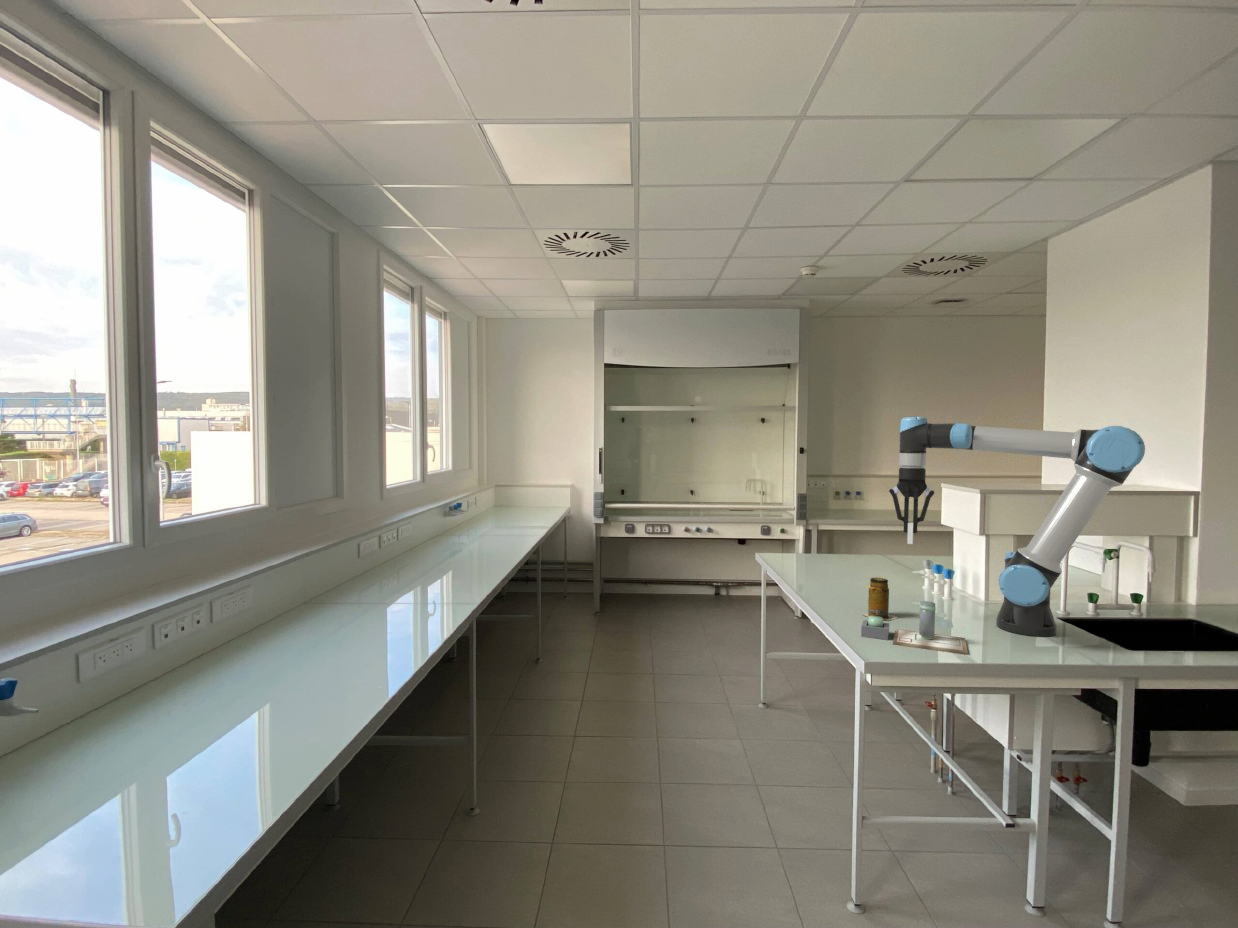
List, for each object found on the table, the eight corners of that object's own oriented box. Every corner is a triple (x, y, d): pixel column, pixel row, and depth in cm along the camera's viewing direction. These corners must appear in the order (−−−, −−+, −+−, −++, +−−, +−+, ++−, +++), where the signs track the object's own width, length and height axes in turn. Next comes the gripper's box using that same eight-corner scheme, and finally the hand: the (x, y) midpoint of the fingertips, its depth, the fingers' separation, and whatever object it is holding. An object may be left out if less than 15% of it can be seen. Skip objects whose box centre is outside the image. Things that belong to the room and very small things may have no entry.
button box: (889, 633, 185) (889, 623, 185) (887, 639, 178) (888, 629, 178) (863, 629, 188) (863, 619, 188) (861, 636, 182) (861, 625, 181)
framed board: (964, 639, 179) (964, 637, 179) (967, 654, 167) (967, 651, 167) (895, 630, 187) (895, 628, 187) (892, 644, 175) (893, 641, 175)
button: (883, 627, 184) (883, 616, 184) (882, 630, 180) (882, 620, 180) (868, 625, 186) (868, 615, 186) (867, 628, 182) (867, 618, 182)
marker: (934, 637, 179) (935, 602, 179) (934, 641, 176) (935, 605, 175) (919, 635, 181) (920, 600, 180) (918, 639, 177) (919, 603, 177)
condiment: (873, 611, 208) (874, 575, 208) (899, 617, 202) (900, 580, 201) (862, 615, 204) (863, 578, 203) (887, 621, 197) (888, 583, 197)
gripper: (935, 467, 196) (933, 543, 197) (889, 466, 202) (887, 540, 203) (935, 468, 190) (933, 546, 191) (888, 467, 195) (886, 543, 196)
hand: (910, 543), depth 197 cm, fingers closed
